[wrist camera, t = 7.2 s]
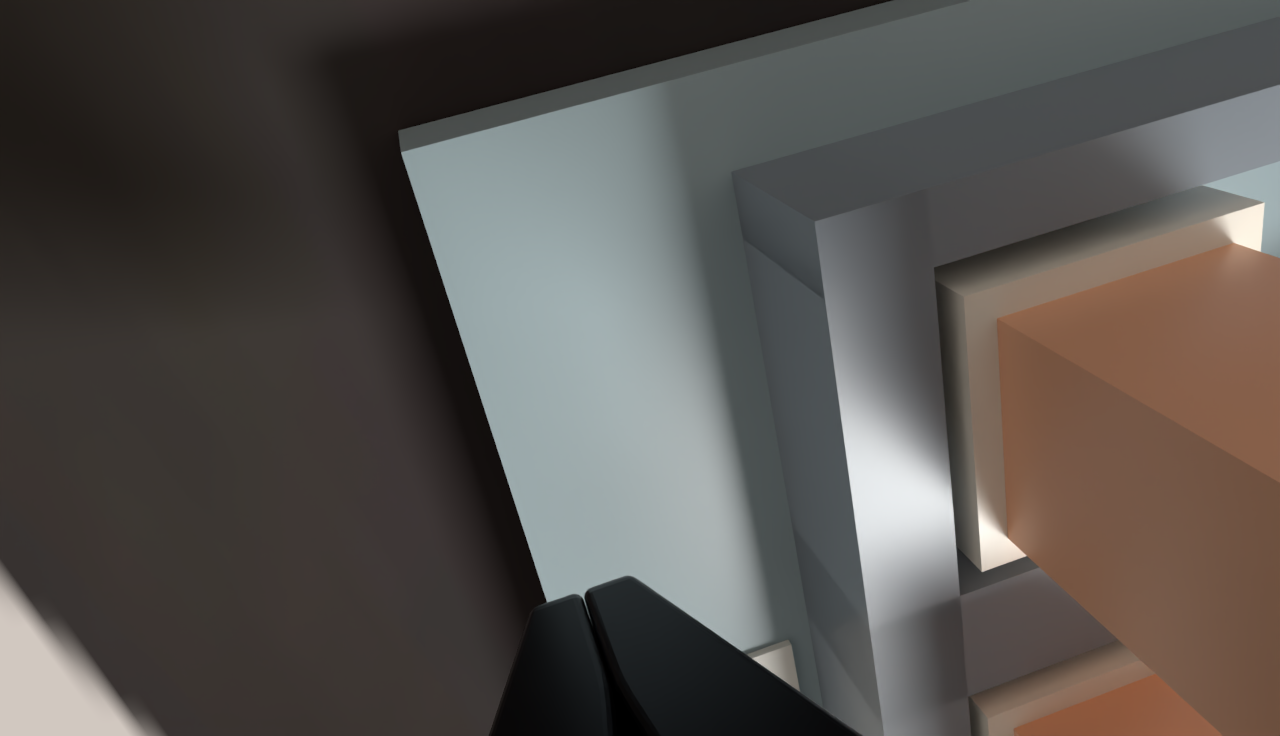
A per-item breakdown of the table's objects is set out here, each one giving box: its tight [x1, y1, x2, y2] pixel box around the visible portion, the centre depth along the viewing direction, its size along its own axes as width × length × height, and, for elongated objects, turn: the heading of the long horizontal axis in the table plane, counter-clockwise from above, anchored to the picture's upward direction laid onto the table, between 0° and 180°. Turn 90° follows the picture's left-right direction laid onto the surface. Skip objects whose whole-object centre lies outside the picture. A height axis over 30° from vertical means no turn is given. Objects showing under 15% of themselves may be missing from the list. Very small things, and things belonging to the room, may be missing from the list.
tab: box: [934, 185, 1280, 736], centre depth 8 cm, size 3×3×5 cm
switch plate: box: [398, 0, 1280, 736], centre depth 12 cm, size 12×14×3 cm
